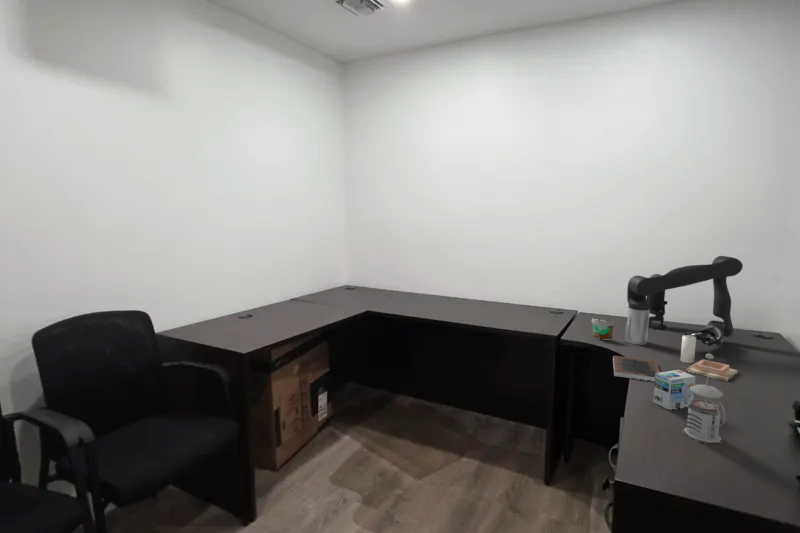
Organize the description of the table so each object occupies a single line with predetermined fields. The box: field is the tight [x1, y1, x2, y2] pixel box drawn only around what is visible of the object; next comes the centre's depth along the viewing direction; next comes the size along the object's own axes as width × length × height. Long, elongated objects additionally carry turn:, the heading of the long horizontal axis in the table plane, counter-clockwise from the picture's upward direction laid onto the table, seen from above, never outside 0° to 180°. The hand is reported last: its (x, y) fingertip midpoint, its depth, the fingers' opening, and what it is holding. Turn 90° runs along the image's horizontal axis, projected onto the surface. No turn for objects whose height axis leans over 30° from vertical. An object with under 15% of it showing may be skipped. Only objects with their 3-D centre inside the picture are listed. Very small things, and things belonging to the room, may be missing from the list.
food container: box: [591, 316, 616, 340], centre depth 226 cm, size 12×6×10 cm, turn 25°
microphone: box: [646, 273, 668, 330], centre depth 247 cm, size 13×12×30 cm
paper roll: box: [680, 334, 697, 364], centre depth 192 cm, size 5×5×11 cm
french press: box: [683, 353, 726, 442], centre depth 128 cm, size 10×12×25 cm
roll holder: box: [685, 358, 739, 382], centre depth 180 cm, size 14×14×3 cm
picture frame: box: [612, 355, 661, 382], centre depth 183 cm, size 16×2×22 cm
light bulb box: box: [653, 369, 696, 411], centre depth 150 cm, size 11×7×11 cm, turn 106°
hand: (697, 341), depth 199 cm, fingers open, 8 cm apart
